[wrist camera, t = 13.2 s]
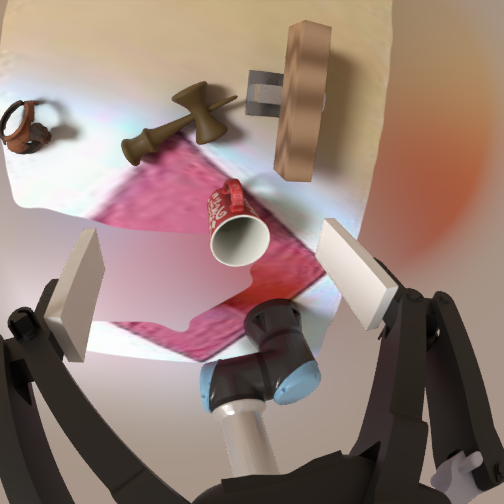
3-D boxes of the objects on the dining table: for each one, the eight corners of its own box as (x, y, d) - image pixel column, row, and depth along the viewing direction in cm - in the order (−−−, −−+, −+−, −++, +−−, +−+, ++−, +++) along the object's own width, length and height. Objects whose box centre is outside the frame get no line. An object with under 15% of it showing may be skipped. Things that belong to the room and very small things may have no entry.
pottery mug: (12, 154, 35) (-13, 143, 26) (31, 108, 35) (10, 92, 26) (53, 165, 37) (28, 153, 28) (74, 115, 36) (54, 96, 28)
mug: (249, 224, 56) (268, 264, 45) (203, 228, 54) (211, 270, 43) (251, 162, 49) (274, 189, 38) (201, 165, 47) (208, 192, 36)
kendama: (116, 128, 40) (222, 70, 38) (143, 171, 46) (245, 119, 44) (107, 135, 35) (227, 69, 34) (139, 184, 41) (253, 124, 39)
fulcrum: (309, 120, 46) (324, 125, 41) (245, 114, 43) (253, 117, 38) (314, 79, 42) (330, 80, 37) (249, 70, 39) (258, 68, 34)
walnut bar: (296, 170, 45) (310, 182, 40) (273, 169, 44) (285, 181, 39) (313, 32, 32) (331, 27, 27) (289, 27, 31) (305, 20, 26)
